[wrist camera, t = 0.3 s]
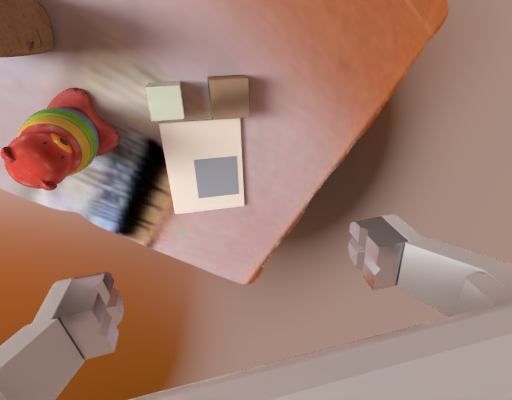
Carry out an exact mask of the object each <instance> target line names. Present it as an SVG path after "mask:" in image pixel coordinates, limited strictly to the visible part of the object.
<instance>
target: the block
mask: <svg viewBox="0 0 512 400" xmlns="http://www.w3.org/2000/svg"><path fill="white" fill-rule="evenodd" d="M53 47H54V40H53V32H52V28H51V25H50V21H49V19H48V16H47V14H46V12H45V10H44V9H43V8H42V6H41V5H40V4H39V3H38V2H37V1H36V0H0V57H15V56H26V55H33V54H39V53H43V52H47V51H50V50H51V49H52V48H53Z"/></svg>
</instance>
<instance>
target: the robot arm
mask: <svg viewBox="0 0 512 400" xmlns="http://www.w3.org/2000/svg"><path fill="white" fill-rule="evenodd" d="M349 232H350V233H351V235H352V236H353V237H352V238H351V240H350V241H349V243H348V247H349V248H348V250H349V255H350V258H351V260H352V262H353V264H354V265H355V267H356V268H358V269H360V270H362V271H363V278H364V279H365V280H366V282H367V283H368V284H369V286H370V287H371V288H372V290H377V289H383V288H387V287H392V286H397V287H398V288H400V289H401V290H403V291H405V292H407V293H409V294H410V295H412V296H413V297H415V298H417V299H419V300H420V301H422V302H424V303H425V304H427V305H429V306H431V307H432V308H434V309H436V310H438V311H439V312H441V313H443V314H445V315H446V316H448V317H446V318H443V319H439V320H435V321H431V322H427V323H423V324H419V325H415V326H412V327H408V328H404V329H400V330H396V331H392V332H388V333H385V334H381V335H377V336H373V337H369V338H365V339H361V340H358V341H353V342H350V343H346V344H342V345H338V346H334V347H330V348H326V349H323V350H319V351H315V352H311V353H307V354H303V355H300V356H296V357H291V358H288V359H284V360H280V361H276V362H272V363H268V364H264V365H260V366H257V367H253V368H249V369H245V370H241V371H237V372H233V373H230V374H226V375H222V376H218V377H214V378H210V379H206V380H203V381H199V382H195V383H191V384H187V385H183V386H179V387H175V388H171V389H168V390H164V391H160V392H156V393H153V394H149V395H145V396H141V397H137V398H133V399H129V400H512V264H509V263H506V262H503V261H500V260H497V259H494V258H491V257H487V256H484V255H481V254H478V253H475V252H472V251H469V250H466V249H463V248H459V247H456V246H453V245H450V244H447V243H444V242H441V241H438V240H435V239H431V238H423V237H422V236H421V235H419V234H418V233H417V232H416V231H415V230H414V229H412V228H411V227H410V226H409V225H407V224H406V223H405V222H404V221H403V220H402V219H400V218H399V217H398V216H397V215H395V214H393V213H389V214H386V215H381V216H378V217H374V218H369V219H364V220H359V221H355V222H351V224H350V230H349ZM113 285H114V279H113V277H112V275H111V273H109V272H103V273H97V274H92V275H87V276H82V277H76V278H71V279H66V280H61V281H57V282H56V283H54V284H53V286H52V288H51V289H50V291H49V293H48V295H47V297H46V299H45V301H44V302H43V304H42V306H41V308H40V309H39V311H38V313H37V315H36V317H35V319H34V321H33V322H32V324H30V325H26V326H24V327H23V328H22V329H21V330H19V331H18V332H17V333H16V334H14V335H13V336H12V337H11V338H10V339H8V340H7V341H6V342H5V343H3V344H2V345H1V346H0V400H55V399H56V398H57V397H58V395H59V394H60V393H61V391H62V390H63V389H64V387H65V386H66V385H67V384H68V382H69V381H70V380H71V378H72V377H73V376H74V375H75V373H76V372H77V371H78V369H79V368H80V366H82V364H83V363H84V360H85V359H89V358H93V357H97V356H101V355H104V354H108V353H112V352H114V351H115V347H116V343H117V338H118V334H119V332H118V330H117V328H116V326H117V325H118V324H119V323H120V322H121V320H122V317H123V300H122V296H121V294H120V292H119V291H118V290H117V289H115V288H113Z"/></svg>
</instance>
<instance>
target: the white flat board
mask: <svg viewBox="0 0 512 400" xmlns="http://www.w3.org/2000/svg"><path fill="white" fill-rule="evenodd" d="M159 128H160V134H161V139H162V145H163V150H164V156H165V161H166V167H167V172H168V178H169V183H170V189H171V194H172V200H173V205H174V211H175V214H181V213H189V212H197V211H206V210H214V209H222V208H230V207H239V206H244V187H243V167H242V146H241V125H240V118H233V119H219V120H213V119H206V120H192V121H178V122H164V123H159Z"/></svg>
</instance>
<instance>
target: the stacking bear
mask: <svg viewBox="0 0 512 400" xmlns="http://www.w3.org/2000/svg"><path fill="white" fill-rule="evenodd" d="M119 137H120V135H119V133H118V132H117V130H116V129H115V128H114V127H113V126H111V125H109V124H107V123H105V122H103V121H102V120H101V119H100V118H99V117H98V116H97V115H96V113H95V112H94V110H93V107H92V102H91V99H90V97H89V96H88V95H86V93H85V92H84V91H83V90H78V89H76V88H69V89H67V90H65V91H63V92H62V93H60V94H59V95H57V96H56V97H55V98H54V99H53V100H52V101H51V103H50V104H49V106H48V107H47V109H44V110H41V111H39V112H37V113H35V114H33V115H32V116H31V117H30V118H29V119H28V120H27V121H26V122H25V123H24V125H23V126H22V128H21V130H20V132H19V134H18V137H17V138H16V139H14V140H13V141H12V142H11V143H10V144H9V145H8V147H4V148H2V150H1V152H0V153H1V157H2V158H3V159H4V163H5V167H6V169H7V171H8V173H9V174H10V176H11V177H12V178H13V179H14V180H15V181H17V182H18V183H20V184H22V185H24V186H27V187H31V188H43V189H45V190H54V189H55V188H56V187H57V184H58V183H60V182H61V181H62V180H63V179H64V178H65V177H66V176H70V175H72V174H75V173H77V172H79V171H81V170H82V169H84V168H85V167H87V166H88V165H89V164H90V163H91V162H92V161H93V159H94V158H95V156H98V155H101V154H104V153H106V152H108V151H110V150H112V149H113V148H115V147H116V146H117V145H118V144H119Z"/></svg>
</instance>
